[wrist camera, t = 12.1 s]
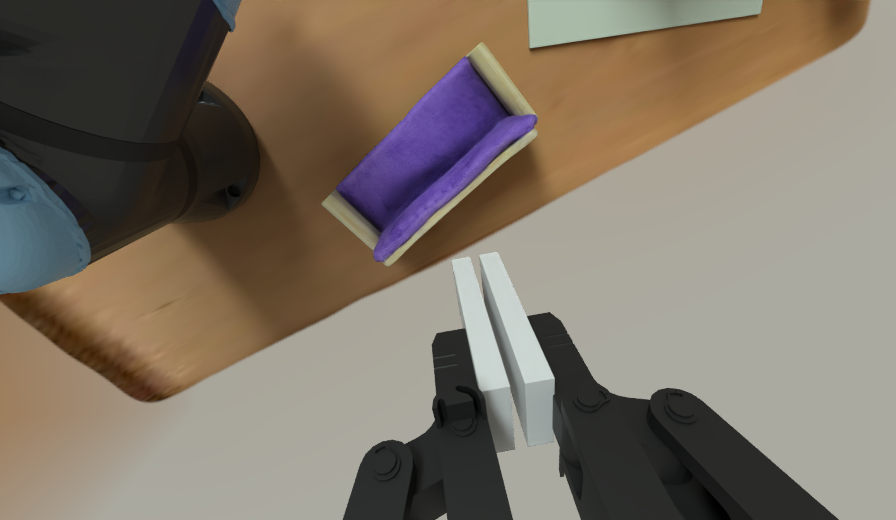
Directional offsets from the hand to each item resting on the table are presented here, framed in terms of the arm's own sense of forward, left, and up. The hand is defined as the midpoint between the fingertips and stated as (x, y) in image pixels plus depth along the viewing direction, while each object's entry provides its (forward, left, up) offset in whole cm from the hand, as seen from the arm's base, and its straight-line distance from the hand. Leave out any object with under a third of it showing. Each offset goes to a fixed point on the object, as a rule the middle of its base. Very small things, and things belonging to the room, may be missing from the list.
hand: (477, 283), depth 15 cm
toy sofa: (-2, +2, -29) cm, 29 cm away
